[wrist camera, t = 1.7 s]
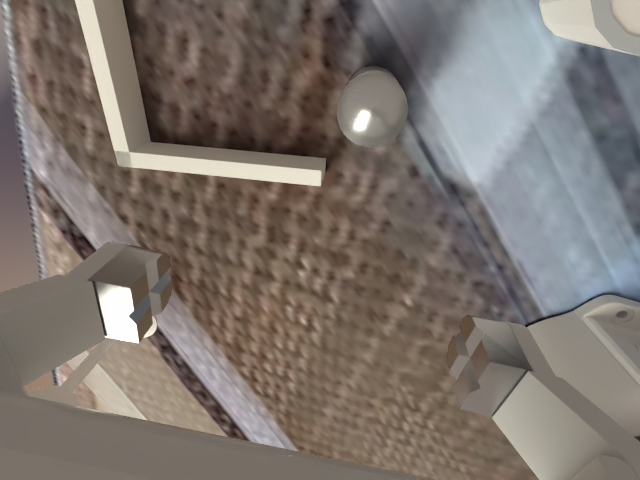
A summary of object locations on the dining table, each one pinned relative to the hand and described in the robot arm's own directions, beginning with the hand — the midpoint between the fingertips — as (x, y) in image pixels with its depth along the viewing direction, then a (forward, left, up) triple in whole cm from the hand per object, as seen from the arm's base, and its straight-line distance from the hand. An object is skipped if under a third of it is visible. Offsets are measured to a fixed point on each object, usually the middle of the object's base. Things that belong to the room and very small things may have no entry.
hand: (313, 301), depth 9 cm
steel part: (-1, -3, -20) cm, 20 cm away
